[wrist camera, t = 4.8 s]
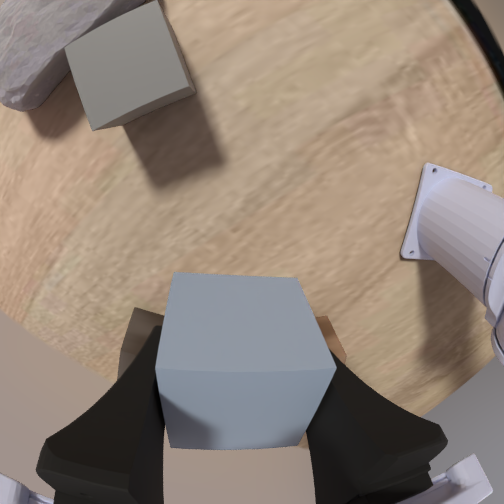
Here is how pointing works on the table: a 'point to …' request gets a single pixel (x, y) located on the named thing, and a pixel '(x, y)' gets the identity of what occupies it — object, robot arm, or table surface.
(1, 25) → the stone block
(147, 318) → the ebony cube
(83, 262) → the table surface
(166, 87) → the grey cube
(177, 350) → the slate blue cube
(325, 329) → the walnut cube
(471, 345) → the table surface
